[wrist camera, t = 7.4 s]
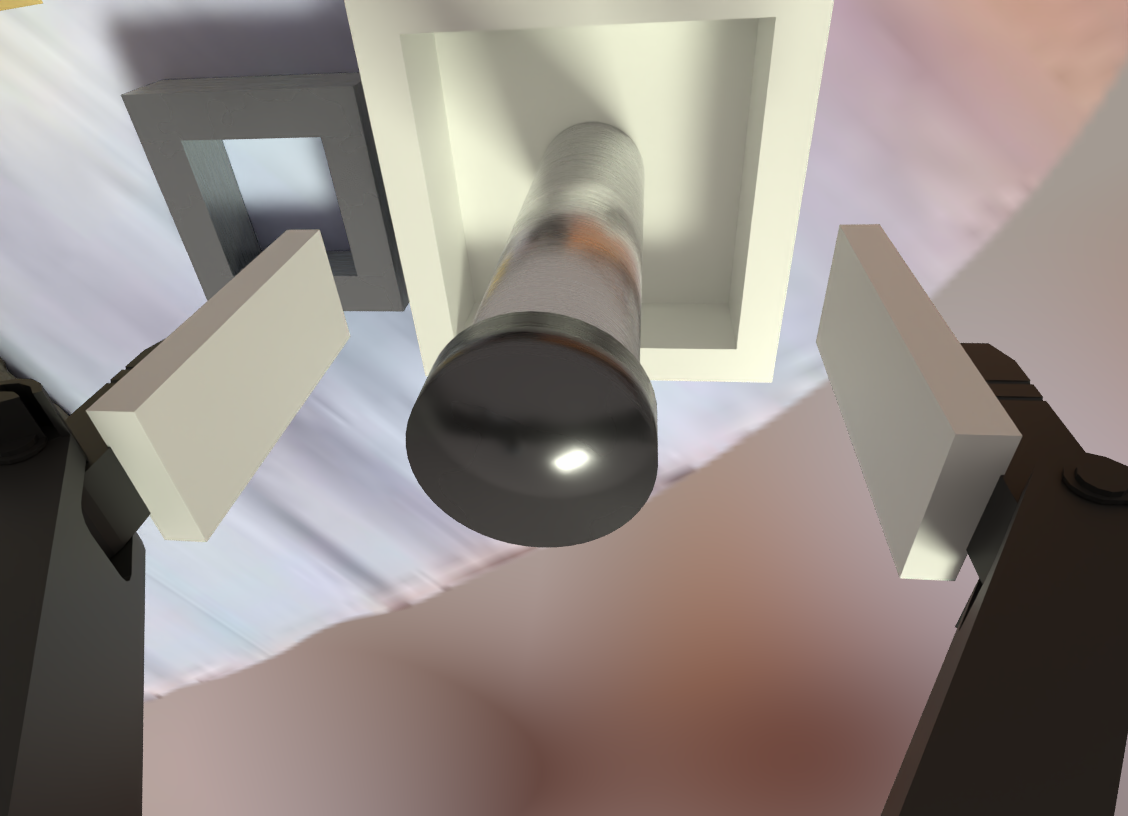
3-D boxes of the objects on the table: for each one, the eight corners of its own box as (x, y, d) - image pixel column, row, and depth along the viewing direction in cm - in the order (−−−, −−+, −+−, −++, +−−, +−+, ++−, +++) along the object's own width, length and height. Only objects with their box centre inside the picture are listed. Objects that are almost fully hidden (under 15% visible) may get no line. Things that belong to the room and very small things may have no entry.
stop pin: (525, 112, 20) (380, 353, 9) (656, 108, 19) (662, 356, 9) (535, 236, 22) (429, 542, 11) (652, 234, 21) (654, 552, 11)
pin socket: (239, 283, 25) (211, 310, 23) (161, 79, 21) (120, 94, 19) (420, 284, 24) (403, 311, 23) (377, 71, 20) (353, 86, 18)
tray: (451, 323, 25) (425, 375, 22) (387, -35, 18) (339, -22, 15) (758, 325, 24) (772, 382, 21) (812, -60, 17) (842, -51, 14)
